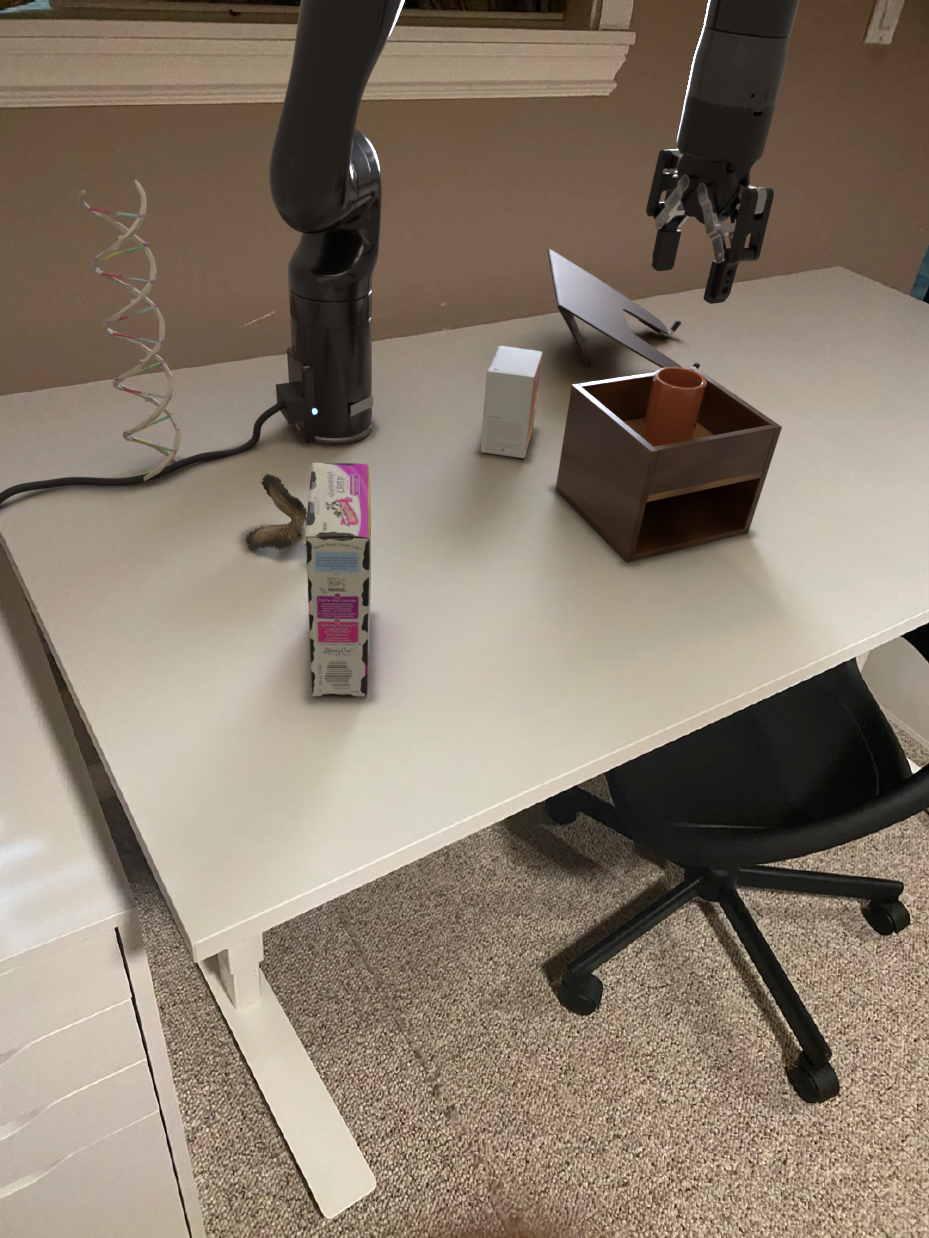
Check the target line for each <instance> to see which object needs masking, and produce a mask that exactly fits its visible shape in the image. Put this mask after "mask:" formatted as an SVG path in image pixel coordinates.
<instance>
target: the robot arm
mask: <svg viewBox="0 0 929 1238" xmlns="http://www.w3.org/2000/svg"><path fill="white" fill-rule="evenodd" d="M800 1H801V0H708V3H707V7H706V14H705V17H704V22H703V24H704V25H703V27H702V30H701V35H700V37H699V40H698V43H697V46H696V50H695V53H694V56H693V61H692V64H691V70H690V75H689V80H688V85H687V89H686V93H685V98H684V103H683V108H682V114H681V118H680V124H679V128H678V133H677V137H676V147H677V149H676V148H675V149H661V150H660V151H659V152H658V155H657V160H656V165H655V168H654V172H653V176H652V177H653V178H652V182H651V186H650V192H649V194H648V199H647V204H646V208H645V213H646V216H647V217H648V218H649V217H653V219H654V225H655V228H656V229H657V232H656V235H655V236H656V237H655V241H654V246H653V251H652V261H651V268H652V269H653V270H655V271H656V272H665V271H671V270H672V269H673V268H674V266H675V263H676V258H677V254H678V249H679V244H680V240H681V235H682V230H680V228H682V227H683V225H684V224H685V223H686V222H687V221H688V220H689V218H690V217H691V218H695V219H696V221H698V223H700V224H702V225H704V227H705V234H706V236H707V237H708V238H709V239H710V240H711V241H712V242H711V243H712V249H713V255H714V260H712V261H711V266H710V269H709V273H708V278H707V282H706V285H705V289H704V293H703V301H704V302H705V303H707V304H710V305H713V304H721V303H724V302H725V301H726V300H727V299H728V298H729V296H730V295H731V292H732V289H733V286H734V285H733V284H734V280H735V277H736V274H737V271H738V266H739V264H741V263H744V262H756V261H758V260H759V259H760V256H761V253H762V248H763V245H764V244H763V243H764V239H765V234H766V231H767V226H768V222H769V218H770V215H771V214H770V213H771V209H772V205H773V201H774V197H775V193H774V192H775V191H774V189H773V188H772V187H762V186H761V187H757V186H754V185H751V170H752V167H753V166H754V165H755V164H756V163H757V162H758V161H760V160H761V158H762V157H763V155H764V151H765V148H766V145H767V140H768V136H769V132H770V128H771V124H772V121H773V117H774V114H775V110H776V105H777V102H778V97H779V95H780V90H781V86H782V83H783V79H784V75H785V70H786V66H787V59H788V51H789V45H790V41H791V40H790V39H791V35H792V32H793V29H794V24H795V20H796V16H797V13H798V10H799V9H798V8H799V5H800ZM404 3H405V0H300V5H299V11H298V17H297V18H298V19H297V25H296V31H295V39H294V40H295V41H294V48H293V55H292V61H291V62H292V63H291V68H290V73H289V78H288V83H287V87H286V91H285V96H284V100H283V103H282V109H281V111H280V116H279V119H278V124H277V129H276V132H275V136H274V141H273V145H272V150H271V154H270V159H269V166H268V184H269V185H268V186H269V192H270V195H271V199H272V201H273V202H272V203H273V205H274V207H275V209H276V211H277V213H278V215H279V216H280V218H281V219H282V220H283V221H284V222H285V224H287V226H289V227H290V228H291V229H293V230H294V231H296V232H298V233H301V236H300V239H299V241H298V243H297V246H296V248H295V249H294V251H293V252H292V255H291V256H290V257H289V261H288V263H287V284H288V285H287V286H288V301H289V303H288V304H289V321H290V337H291V346H289V347H288V348H286V357H287V374H288V376H287V377H288V382H284V383H283V382H282V383H276V384H275V393H276V403H275V404H274V405H272V406H271V407H269V408H268V409H266V410H265V411H264V412H262V413H261V414H260V415H259V417H258V418H257V419H256V420H255V421H254V425H253V429H252V436H251V438H250V439H249V440H248V441H246V442H245V443H243V444H242V445H240V446H237V447H235V448H231V449H225V450H215V451H214V450H213V451H208V452H202V453H201V452H200V453H197V454H194V455H191V456H188V457H185V458H183V459H180V460H178V461H177V462H173V463H170V464H168V465H167V466H166V467H165V468H164V469H163V470H162V471H161V472H160V473H158V474H156V475H155V476H153V477H151V478H150V479H148V480H146V481H144V476H146V475H147V474H149V473H150V472H147V473H142V474H138V475H134V476H133V475H132V476H127V477H94V476H68V477H67V476H66V477H58V478H51V479H45V480H44V479H43V480H37V481H36V480H35V481H29V482H23V483H19V484H16V485H13V486H10V487H8V488H6V489H4V490H3V491H1V492H0V506H1V505H2V504H3V503H4V502H5V501H7V500H8V499H9V498H11V497H13V496H16V495H19V494H21V493H26V492H33V491H37V490H38V491H39V490H47V489H53V488H59V487H60V488H61V487H68V486H93V487H127V486H133V485H139V484H143V483H148V482H151V481H154V480H157V479H160V478H163V477H165V476H168V475H170V474H172V473H174V472H177V471H179V470H180V469H183V468H186V467H188V466H192V465H195V464H197V463H200V462H205V461H212V460H219V459H224V458H225V459H226V458H228V457H232V456H235V455H240V454H242V453H245V452H248V451H250V450H252V449H253V448H254V447H255V446H256V445H257V444H258V442H259V441H260V438H261V433H262V432H261V431H262V427H263V425H264V424H265V423H266V421H267V420H268V419H270V418H271V417H273V416H274V415H275V414H277V413H278V412H281V414H282V416H283V417H284V419H285V420H286V422H287V423H288V424H289V425H291V424H292V425H293V426H294V428H295V430H296V432H297V433H298V434H299V435H300V437H301V439H302V440H303V441H304V443H306V444H309V443H320V444H325V445H344V444H351V443H355V442H357V441H360V440H362V439H364V438H366V437H367V436H368V435H370V433H371V432H372V431H373V407H374V395H373V388H372V387H373V368H372V367H373V354H372V353H373V275H374V271H375V268H376V265H377V263H378V258H379V252H380V237H381V221H382V220H381V219H382V217H381V216H382V188H383V186H382V173H381V167H380V162H379V158H378V155H377V152H376V150H375V148H374V146H373V144H372V143H371V141H370V140H369V138H368V137H367V136H366V135H365V134H364V133H363V132H362V131H361V129H358V128H357V127H356V125H357V119H358V115H359V110H360V106H361V102H362V100H363V95H364V93H365V90H366V88H367V84H368V82H369V79H370V78H371V75H372V73H373V71H374V69H375V66H376V65H377V63H378V61H379V58H380V57H381V55H382V52H383V50H384V49H385V46H386V45H387V42H388V40H389V38H390V36H391V34H392V32H393V29H394V27H395V25H396V23H397V21H398V18H399V16H400V13H401V12H402V8H403V6H404ZM664 192H665V196H664V201H661V198H662V193H664ZM728 219H729V220H730V221H729V222H730V223H725V222H726V221H727V220H728ZM749 235H750V236H749ZM748 236H749V239H748V240H749V241H748V246H746V241H747V237H748ZM726 237H727V238H728V239H729V246H730V247H727V241H726Z"/></svg>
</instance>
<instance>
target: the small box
mask: <svg viewBox="0 0 929 1238" xmlns="http://www.w3.org/2000/svg"><path fill="white" fill-rule="evenodd" d="M496 348H497V349H496V351H495V354H494V356H493V359H492V361H491V364H489V365H490V366H489V367H488V369H487V371H486V379H485V380H486V381H485V392H484V393H485V394H484V403H483V414H482V415H483V416H482V427H481V440H480V452H481V453H485V454H493V455H498V456H506V457H512V458H517V459H519V458H520V459H525V458H526V456H527V451H528V448H529V445H530V441H531V439H532V436H533V432H534V428H535V427H534V425H535V417H536V411H537V410H536V408H537V403H538V395H539V386H540V379H541V371H542V363H543V355H544V352H543V351H539V350H534V349H527V348H520V347H513V346H506V345H498V346H497V347H496Z"/></svg>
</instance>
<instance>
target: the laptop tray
mask: <svg viewBox="0 0 929 1238" xmlns="http://www.w3.org/2000/svg"><path fill="white" fill-rule="evenodd" d="M547 255H548V261H549V269H550V272H551V279H552V284H553V290H554V295H555V296H554V297H555V301H556V307H557V310H558V311H559V313H560V314H561V316H562V319H563V320H564V322H565V323H566V325H567V327H568V329H569V332H570V333H571V336H572V337H573V340H574V342H575V344H576V346H577V348H578V350H579V352H580V355H581V357H582V360H583V361H584V362H585V364H588V361H587V358H586V355H585V352H584V349H583V344H582V340H583V339H582V338H583V337H582V333H581V331H580V328H579V326H578V323H577V321H576V319H575V317H576V318H577V319H578V320H580V321H582V322H583V323H585V324H587V325H588V326H590V327H591V328H593V329H595V330H596V331H598V332H600V333H601V334H603V335H604V336H606V337H607V338H608V337H609V338H610V339H611V340H613V341H615V342H616V343H618V344H620V345H621V346H623V347H624V348H626V349H628V350H629V351H631V352H633V353H635V354H636V355H638V356H640V357H642V358H643V359H645V360H646V361H648V362H650V363H652V364H654V365H656V366H657V367H659V368H660V369H661V368H665V367H680V368H683V367H682V366H681V365H680V364H679V363H677V362H676V361H675V360H673V359H672V358H670V357H668V356H667V355H666V354H665V353H663V352H662V351H660V350H658V349H657V348H655V347H654V346H653V345H651V344H649V343H648V342H646V341H645V340H643V338H640V337H639V336H637V335H636V334H635V333H634V332H632V330H631V329H630V328H629V326H628V323H627V320H626V318H625V314H624V312H625V313H626V314H628V315H629V316H631V317H633V318H634V319H636V320H637V321H638V322H640V323H641V324H643V325H644V326H646V327H647V328H649V329H651V330H652V331H654V332H655V333H657V334H659V335H662V336H663V337H671V336H673V335H674V333H675V332H676V331H677V330H678V328H680V326H681V325H682V321H681V320H680V319H676V320H675V321H674V322H673V324H672V325H671V327H670V329H668V328H667V326H666V325H665V323H663V321H661V320H660V318H658V317H656V316H655V315H654V314H652V313H651V312H650V311H648V310H646V309H645V308H644V307H642V306H641V305H639V304H637V303H636V302H635V301H633V300H631V298H628V297H627V296H625V295H624V294H622V293H621V292H619V291H618V290H616V289H614V288H613V287H611V286H610V285H608V284H607V283H605V282H604V281H602V280H601V279H599V278H597V277H596V276H595V275H593V274H591V273H590V272H588V271H587V270H585V269H583V268H582V267H580V266H578V265H577V264H575V263H573V262H572V261H571V260H569V259H567V258H566V257H564V256H563V255H561V254H559V253H558V252H556V251H554V250H553V249H551V248H549V249H547ZM692 366H694V367H696V368H697V369H700V367H701V364H700V363H699V362H697V361H695V362H694V363H693V365H692Z"/></svg>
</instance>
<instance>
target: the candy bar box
mask: <svg viewBox="0 0 929 1238" xmlns="http://www.w3.org/2000/svg"><path fill="white" fill-rule="evenodd" d="M370 481H371V479H370V464H369V463H357V462H356V463H353V462H312V463H311V469H310V479H309V489H308V500H307V507H306V511H307V514H306V517H307V519H306V533H305V537H306V545H305V547H306V549H305V550H306V574H307V575H306V576H307V598H308V599H307V603H308V629H309V630H308V631H309V653H310V655H309V656H310V679H311V682H310V683H311V693H310V694H311V695H310V696H311V697H312V698H344V699H345V698H351V699H353V698H366V697H367V696H368V690H369V689H368V688H369V687H368V686H369V667H370V666H369V665H370V635H371V634H370V633H371V600H372V599H371V598H372V597H371V596H372V595H371V593H372V591H371V589H372V587H371V586H372V517H371V516H372V515H371V512H372V511H371V485H370V484H371V483H370Z"/></svg>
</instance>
